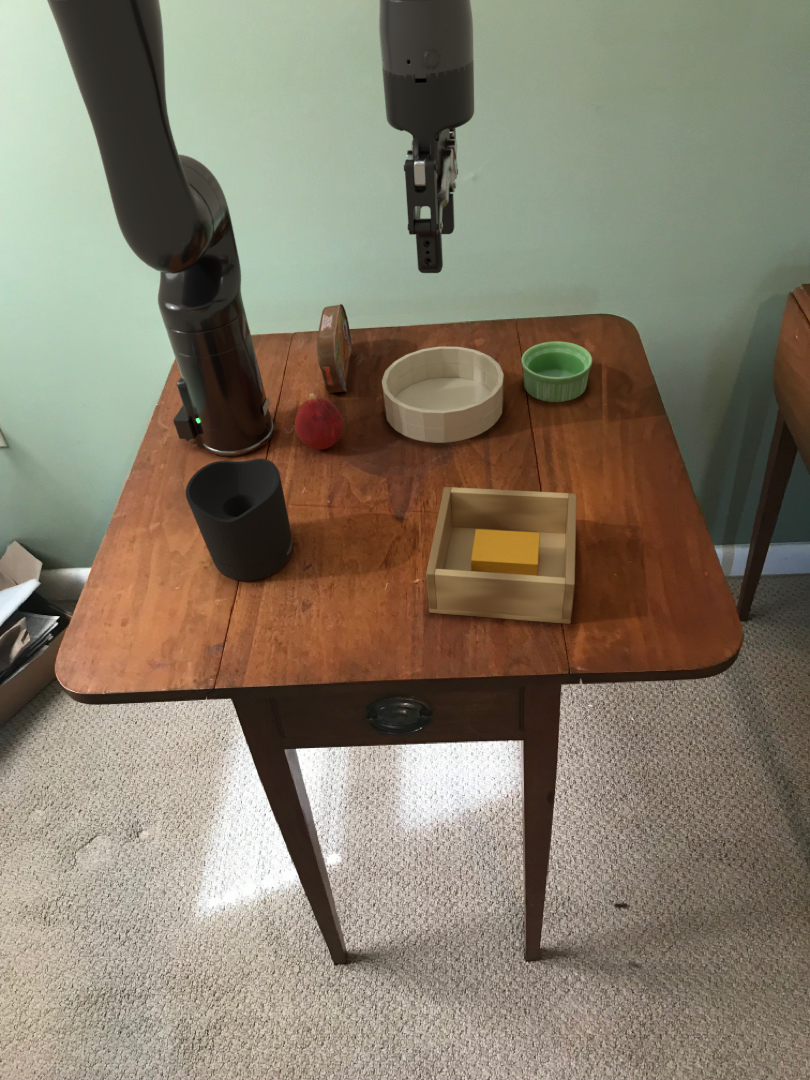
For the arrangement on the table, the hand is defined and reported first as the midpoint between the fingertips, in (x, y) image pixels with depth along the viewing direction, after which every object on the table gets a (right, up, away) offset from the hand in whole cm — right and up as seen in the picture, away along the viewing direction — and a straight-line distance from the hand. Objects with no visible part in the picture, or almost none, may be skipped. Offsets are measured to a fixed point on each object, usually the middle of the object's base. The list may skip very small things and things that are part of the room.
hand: (437, 251), depth 74 cm
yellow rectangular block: (+7, -31, +4) cm, 32 cm away
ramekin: (+17, -8, +28) cm, 34 cm away
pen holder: (-19, -29, +10) cm, 37 cm away
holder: (+7, -31, +5) cm, 32 cm away
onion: (-13, -16, +22) cm, 31 cm away
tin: (-12, -5, +35) cm, 37 cm away
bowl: (+2, -11, +26) cm, 28 cm away
